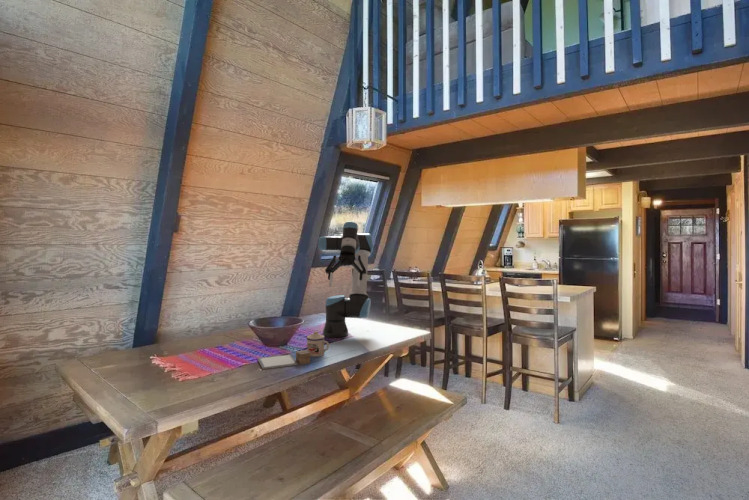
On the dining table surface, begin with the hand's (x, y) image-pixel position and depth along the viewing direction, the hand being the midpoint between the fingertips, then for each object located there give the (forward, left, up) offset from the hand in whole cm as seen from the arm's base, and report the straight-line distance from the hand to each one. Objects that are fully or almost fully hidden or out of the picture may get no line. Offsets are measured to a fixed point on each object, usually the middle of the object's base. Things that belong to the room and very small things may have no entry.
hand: (344, 285), depth 199 cm
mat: (-8, -30, -36) cm, 48 cm away
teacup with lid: (-12, -9, -36) cm, 39 cm away
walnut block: (-3, -19, -36) cm, 41 cm away
